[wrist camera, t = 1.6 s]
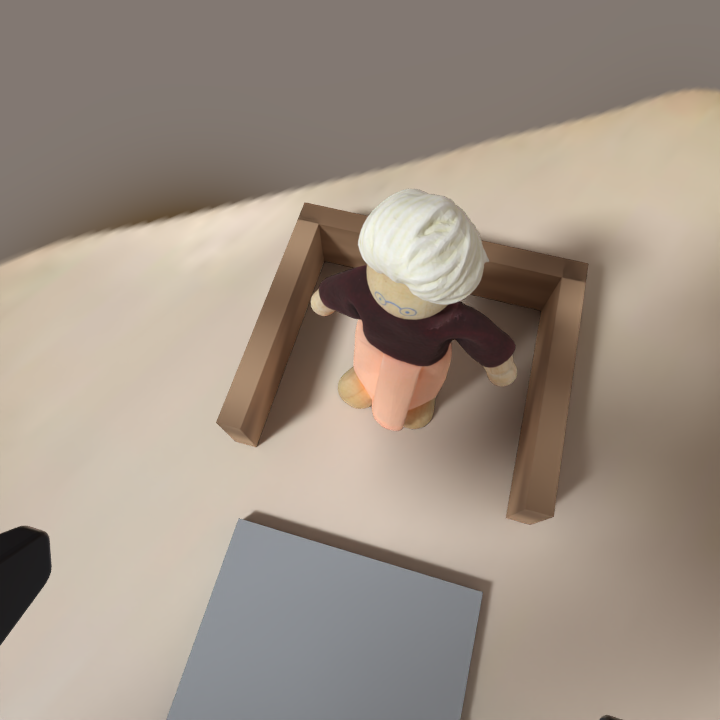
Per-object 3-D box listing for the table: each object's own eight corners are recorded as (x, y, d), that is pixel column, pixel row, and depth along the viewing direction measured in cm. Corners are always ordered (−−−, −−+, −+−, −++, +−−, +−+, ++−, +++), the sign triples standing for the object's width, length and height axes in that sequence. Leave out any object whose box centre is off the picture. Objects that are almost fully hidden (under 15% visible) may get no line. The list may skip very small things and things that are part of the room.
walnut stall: (530, 524, 21) (553, 516, 18) (235, 441, 23) (216, 422, 20) (564, 297, 25) (588, 263, 22) (311, 240, 27) (304, 202, 24)
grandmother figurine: (307, 416, 23) (240, 254, 12) (329, 341, 25) (289, 128, 13) (478, 455, 22) (592, 322, 11) (490, 374, 24) (603, 179, 12)
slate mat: (420, 919, 17) (422, 931, 16) (139, 809, 18) (131, 816, 17) (479, 591, 20) (482, 592, 20) (242, 519, 22) (238, 518, 21)
